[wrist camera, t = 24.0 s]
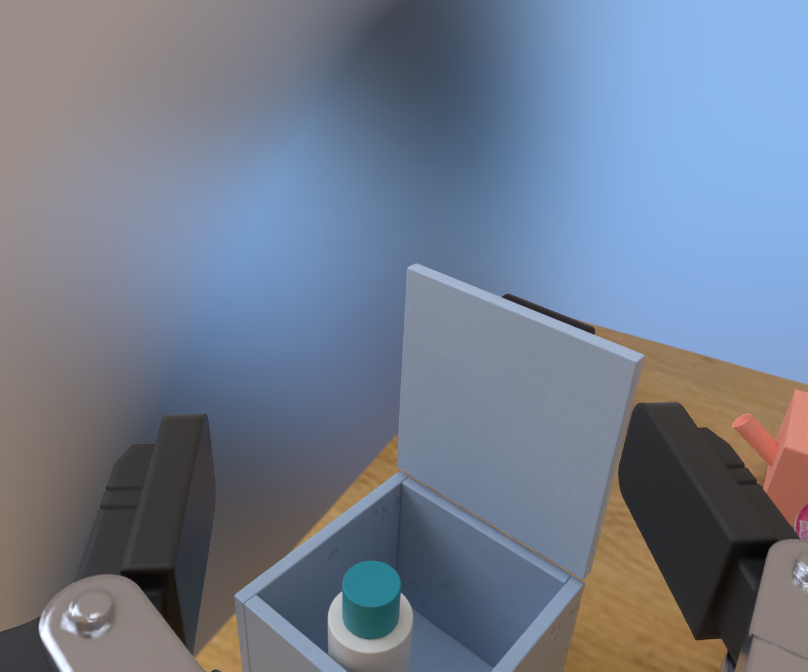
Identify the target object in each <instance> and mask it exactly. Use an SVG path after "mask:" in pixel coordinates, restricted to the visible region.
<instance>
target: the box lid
mask: <svg viewBox="0 0 808 672" xmlns="http://www.w3.org/2000/svg"><path fill="white" fill-rule="evenodd" d="M644 357H645V356H644V355H643V354H641V353H638V352H636V351H633V350H631V349H628V348H626V347H623V346H621V345H618V344H616V343H613V342H611V341H608V340H606V339H603V338H601V337H598V336H596V335H595V329H594V327H592V326H590V325H587V324H584V323H582V322H579V321H577V320H574V319H572V318H569V317H567V316H564V315H562V314H559V313H557V312H554V311H552V310H549V309H547V308H544V307H542V306H539V305H536V304H534V303H531V302H529V301H526V300H524V299H521V298H519V297H516V296H514V295H511V294H506V295H504V296H503V297H502V298H501V297H499V296H496V295H494V294H491V293H489V292H487V291H484V290H481V289H479V288H477V287H474V286H472V285H469V284H467V283H464V282H462V281H459V280H457V279H454V278H452V277H449V276H447V275H444V274H442V273H439V272H437V271H434V270H432V269H429V268H427V267H424V266H422V265H419V264H414V265H412V266H410V267H408V268H407V284H406V303H405V322H404V341H403V360H402V378H401V379H402V380H401V398H400V416H399V434H398V453H397V467H398V468H399V469H401V470H403V471H404V472H406V473H408V474H409V475H411V476H413V477H414V478H416V479H418V480H419V481H421V482H423V483H424V484H426V485H427V486H429V487H431V488H432V489H434V490H436V491H437V492H439V493H441V494H442V495H444V496H446V497H447V498H449V499H451V500H452V501H454V502H456V503H457V504H459V505H461V506H462V507H464V508H466V509H467V510H469V511H470V512H472V513H474V514H475V515H477V516H479V517H480V518H482V519H484V520H485V521H487V522H489V523H490V524H492V525H494V526H495V527H497V528H499V529H500V530H502V531H504V532H505V533H507V534H509V535H510V536H512V537H513V538H515V539H517V540H518V541H520V542H522V543H523V544H525V545H527V546H528V547H530V548H532V549H533V550H535V551H537V552H538V553H540V554H542V555H543V556H545V557H547V558H548V559H550V560H552V561H553V562H555V563H556V564H558V565H560V566H561V567H563V568H565V569H566V570H568V571H570V572H571V573H573V574H575V575H576V576H578V577H580V578H581V579H585V578H586V577H587V575H588V574H589V573H590V572H591V568H592V564H593V560H594V556H595V552H596V548H597V544H598V540H599V536H600V532H601V528H602V524H603V520H604V516H605V512H606V508H607V504H608V500H609V496H610V492H611V488H612V484H613V480H614V476H615V472H616V468H617V464H618V460H619V457H620V453H621V449H622V445H623V441H624V437H625V433H626V429H627V425H628V421H629V417H630V413H631V409H632V405H633V401H634V397H635V393H636V389H637V385H638V381H639V377H640V373H641V369H642V365H643V361H644Z"/></svg>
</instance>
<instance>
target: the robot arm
mask: <svg viewBox="0 0 808 672" xmlns="http://www.w3.org/2000/svg"><path fill="white" fill-rule="evenodd" d="M744 465H745V464H744V463H743V461H742V460H741V459H740V457H739V456H738V455H737V453H736V452H735V451H734V449H733V448H732V447H731V446H730V444H728V443H727V442H726V441H724V440H723V439H722V438H720V437H719V436H717V435H716V434H715V433H713V432H712V431H711V430H709V429H708V428H698V427H697V426H696V424H695V423H694V421H693V420H692V419H691V417H690V416H689V414H688V413H687V412H686V410H685V409H684V407H683V406H682V405H681V404H680V403H677V402H666V403H639V404H637V405H636V406H635V408H634V410H633V412H632V416H631V420H630V424H629V428H628V432H627V436H626V440H625V444H624V447H623V451H622V455H621V459H620V463H619V471H618V477H619V486H620V490H621V494H622V496H623V499H624V501H625V503H626V505H627V506H628V508H629V510H630V512H631V514H632V516H633V518H634V520H635V522H636V524H637V526H638V528H639V530H640V532H641V534H642V536H643V538H644V540H645V542H646V544H647V546H648V548H649V550H650V551H651V553H652V555H653V557H654V559H655V561H656V563H657V565H658V567H659V569H660V571H661V573H662V575H663V577H664V579H665V581H666V583H667V585H668V587H669V589H670V591H671V593H672V594H673V596H674V598H675V600H676V602H677V604H678V606H679V608H680V610H681V612H682V614H683V616H684V618H685V620H686V622H687V624H688V626H689V628H690V630H691V632H692V634H693V636H694V638H695V639H696V640H707V639H722V640H723V642H724V644H725V646H726V648H727V651H726V654H725V656H724V658H723V661H722V664H721V668H720V672H808V541H805V540H801V539H800V537H799V536H798V535H797V533H796V532H795V531H794V529H793V528H792V527H791V525H790V524H789V523H788V521H787V520H786V519H785V517H784V516H783V515H782V513H781V512H780V511H779V509H778V508H777V507H776V505H775V504H774V503H773V501H772V500H771V499H770V497H769V496H768V495H767V493H766V492H765V491H764V489H763V488H762V487H761V485H760V484H757V483H756V481H757V480H756V479H755V477H754V476H753V475H752V473H751V472H750V471H749V469H748V468H745V467H744ZM215 492H216V491H215V475H214V466H213V457H212V448H211V439H210V430H209V421H208V417H207V415H206V414H192V415H164V416H163V418H162V421H161V425H160V428H159V432H158V436H157V439H156V443H155V444H136V445H132V446H131V447H130V448H129V449H128V450H127V451H126V452H125V453H124V454H123V455H122V457H121V458H120V459H119V460H118V461H117V462H116V463H115V464H114V465H113V468H112V471H111V474H110V477H109V480H108V483H107V486H106V492H104V495H103V498H102V501H101V504H100V510H99V511H98V513H97V516H96V519H95V522H94V524H93V528H92V530H91V534H90V537H89V539H88V542H87V545H86V548H85V551H84V554H83V557H82V560H81V563H80V566H79V569H78V572H77V575H76V578H75V580H74V582H73V584H71V585H69V586H67V587H66V588H64V589H63V590H62V591H60V592H59V593H58V594H57V595H56V596H55V597H54V598H53V599H52V600H51V601H50V602H49V603H48V605H47V606H46V607H45V609H44V611H43V613H42V615H41V616H40V617H38V618H36V619H34V620H32V621H30V622H28V623H26V624H23V625H20V626H18V627H15V628H12V629H8V630H5V631H2V632H0V672H206V671H205V670H204V669H203V668H202V667H201V666H200V665H199V663H198V662H197V661H196V659H195V658H194V657H193V651H194V644H195V637H196V631H197V623H198V618H199V611H200V605H201V598H202V591H203V584H204V578H205V572H206V565H207V559H208V552H209V546H210V539H211V532H212V526H213V519H214V512H215V494H216V493H215ZM212 672H221V671H219V670H213V671H212Z"/></svg>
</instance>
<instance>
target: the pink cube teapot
mask: <svg viewBox="0 0 808 672" xmlns="http://www.w3.org/2000/svg"><path fill="white" fill-rule="evenodd" d="M733 427H734V428H735V429H736V430H737V432H738V433H739V434H740V435H741V436H742V437H743V438H744V439H745V440H746V441H747V442H748V443H749V444H750V445H751V446H752V447H753V448H754V449H755V450H756V451H757V453H758V454H759V455H760V456H761V457H762V458H763V459H764V460H765V461H766V462H767V463H768V468H767V473H766V478H765V482H764V487H763V489H764V491H765V492H766V493H767V495H768V496H769V497H770V499H771V500H772V501H773V503H774V504H775V505H776V507H777V508H778V509H779V511H780V512H781V513H782V515H783V516H784V517H785V519H786V520H787V521H788V523H789V524H790V525H791V527H793V528H794V523H795V520H796V517H797V515H798V514H799V512H800V511H801V509H802V508H803V507H804V506H805V505H806V504H807V503H808V393H807V392H804V391H800V390H797V389H796V390H795V392H794V394H793V397H792V399H791V402H790V405H789V407H788V410H787V412H786V415H785V417H784V420H783V423H782V425H781V428H780V430H779V433H778V436H777V438H776V441H775V440H774V439H773V438H772V437H771V436H770V434H769V433H768V432H767V431H766V430H765V429H764V428H763V427H762V426H761V425H760V424H759V422H758V421H757V420H756V419H755V418H754V417H753V416H752V415H751V414H750V413H747V414H744V415H742V416H740V417H739V418H738V419H737V420H736V421H735V422H734V423H733Z"/></svg>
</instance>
